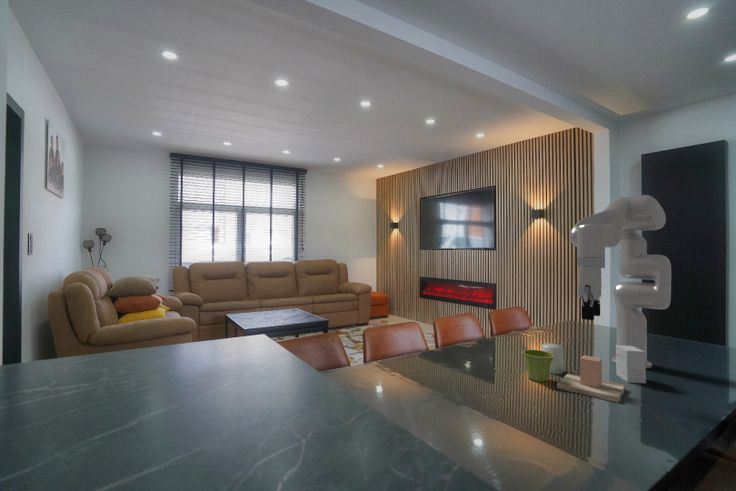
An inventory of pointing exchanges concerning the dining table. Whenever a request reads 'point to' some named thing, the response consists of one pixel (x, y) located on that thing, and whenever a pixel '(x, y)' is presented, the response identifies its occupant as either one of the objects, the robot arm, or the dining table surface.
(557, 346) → the pale rounded smooth block
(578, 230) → the robot arm
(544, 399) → the dining table surface
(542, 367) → the plant pot
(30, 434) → the dining table surface
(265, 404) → the dining table surface
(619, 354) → the small box
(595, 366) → the block
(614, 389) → the board
